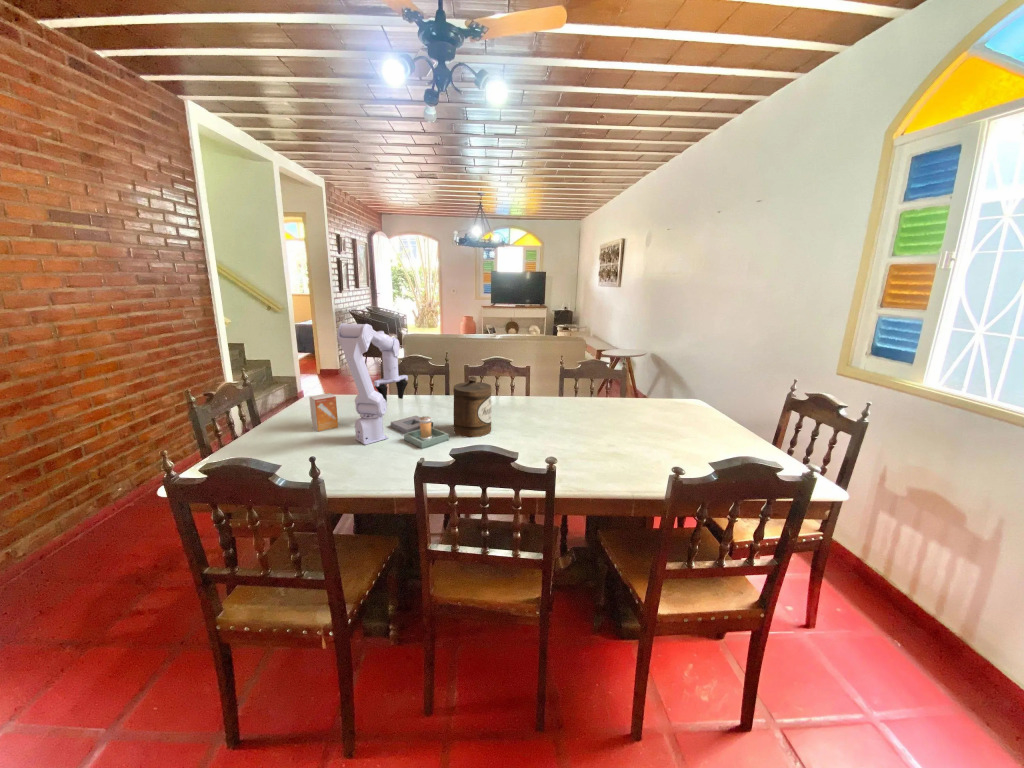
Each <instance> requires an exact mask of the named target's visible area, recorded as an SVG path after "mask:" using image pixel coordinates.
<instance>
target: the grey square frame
mask: <svg viewBox="0 0 1024 768" xmlns="http://www.w3.org/2000/svg"><path fill="white" fill-rule="evenodd" d="M421 417H422V416H421ZM421 417H420V416H419V415H413V416H409V417H405V418H401V419H398V420H397V419H396V420H393V421H390V427H391V428H393V429H395V430H397V431H399V432H401V433H403V434H405V433H408V432H412V431H415V430H419V429H420V418H421ZM431 427H433V428H434V421H433V422H432V421H431Z"/></svg>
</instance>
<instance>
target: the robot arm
mask: <svg viewBox="0 0 1024 768" xmlns="http://www.w3.org/2000/svg"><path fill="white" fill-rule="evenodd" d="M336 338H337V341H338V343H339V346H340V348H341V350H342V351H343V354H344V357H345V360H346V363H347V365H348V368H349V371H350V374H351V376H352V378H353V381H354V383H355V386H356V387H355V388H356V389H357V392H358V394H357V395H356V397H354V398H355V399H354V403H355V412H356V413H357V414H358V415H359V418H356V419H355V422H354V430H355V438H354V439H355V440H356V441H358V442H359V443H360V444H363V445H365V446H366V445H369V444H373V443H377V442H379V441H383V440H387V439H389V436H388V435H385V431H384V420H383V419H384V416H385V414H386V413H387V410H388V403H387V401H388V397H387V396H388V395H387V394H388V386H386V385H388V384H394V383H395V384H396V389H397V398H398V399H400V400H402V399H404V393H405V390H406V387H407V386H408V383H409V382H408V381H409V376H408V375H406V374H403V375H399V361H398V359H399V358H398V356H399V355H400V353H399V351H400V344H401V343H400V341H399V339H398V338H397V337H391V336H390V334H386V333H385V331H384V330H378V331H376V330H375V329H373V326H372V325H371V324H368V323H365V324H364V323H363V324H362V323H347V322H346V323H345V322H342V323H340V324H339V325H338V328H337V334H336ZM370 344H372V345H373V346H375V347H376V348H378V350H379V352H381V353H382V370H383V371H382V372H383V378H380V379H377V380H374V381H372V378H371V375H370V373H369V370H368V367H367V364H366V361H365V359H364V355H363V354H364V353H366V352H368V350H369V347H370ZM374 387H375V388H374ZM375 389H376V390H375Z"/></svg>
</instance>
